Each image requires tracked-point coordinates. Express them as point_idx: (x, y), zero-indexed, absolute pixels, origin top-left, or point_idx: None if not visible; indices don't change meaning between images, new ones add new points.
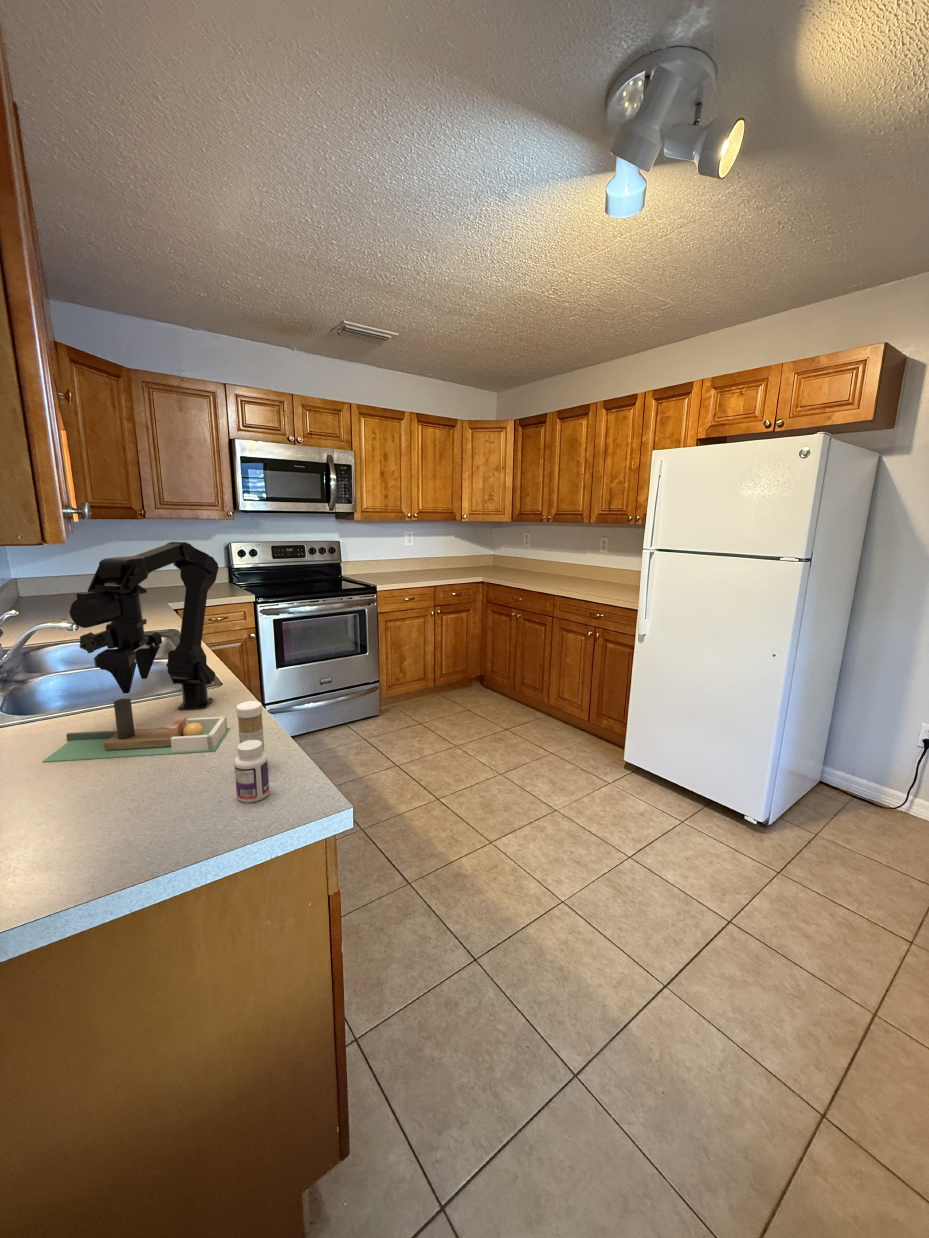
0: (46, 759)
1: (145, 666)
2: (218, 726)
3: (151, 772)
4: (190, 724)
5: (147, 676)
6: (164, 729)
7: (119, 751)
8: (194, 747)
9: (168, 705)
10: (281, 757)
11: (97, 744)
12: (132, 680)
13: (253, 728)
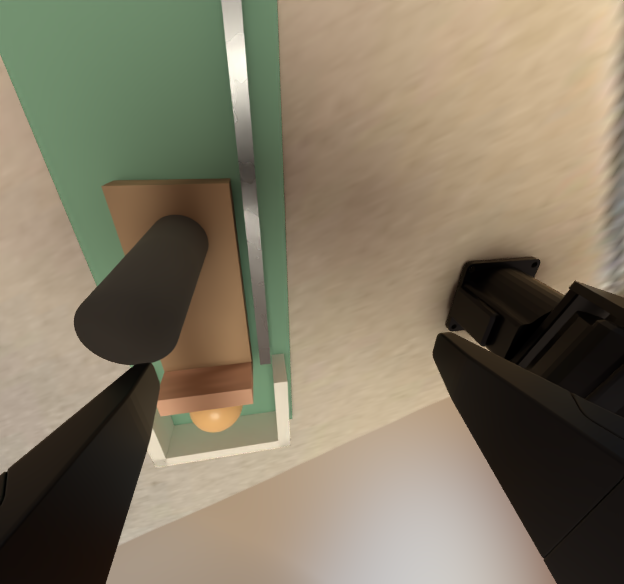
0: None
1: (494, 431)
2: (221, 456)
3: (15, 371)
4: (206, 424)
5: (441, 369)
6: (241, 330)
7: None
8: None
9: (524, 212)
10: (146, 518)
11: (176, 112)
12: (125, 505)
13: None
